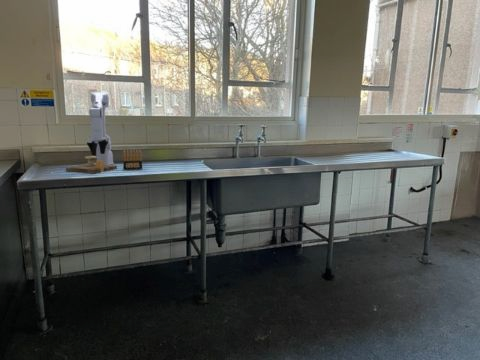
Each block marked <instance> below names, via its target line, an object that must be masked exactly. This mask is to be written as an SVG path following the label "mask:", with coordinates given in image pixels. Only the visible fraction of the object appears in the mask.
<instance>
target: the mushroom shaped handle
mask: <svg viewBox="0 0 480 360" xmlns="http://www.w3.org/2000/svg"><path fill="white" fill-rule="evenodd" d="M84 158H85V159H87V163H88V164H87V163H85V164H86V166H96V163H95V161H96V160H95V159H97V155H96V156H93V155H88V156H87V155H86V156H84Z"/></svg>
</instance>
